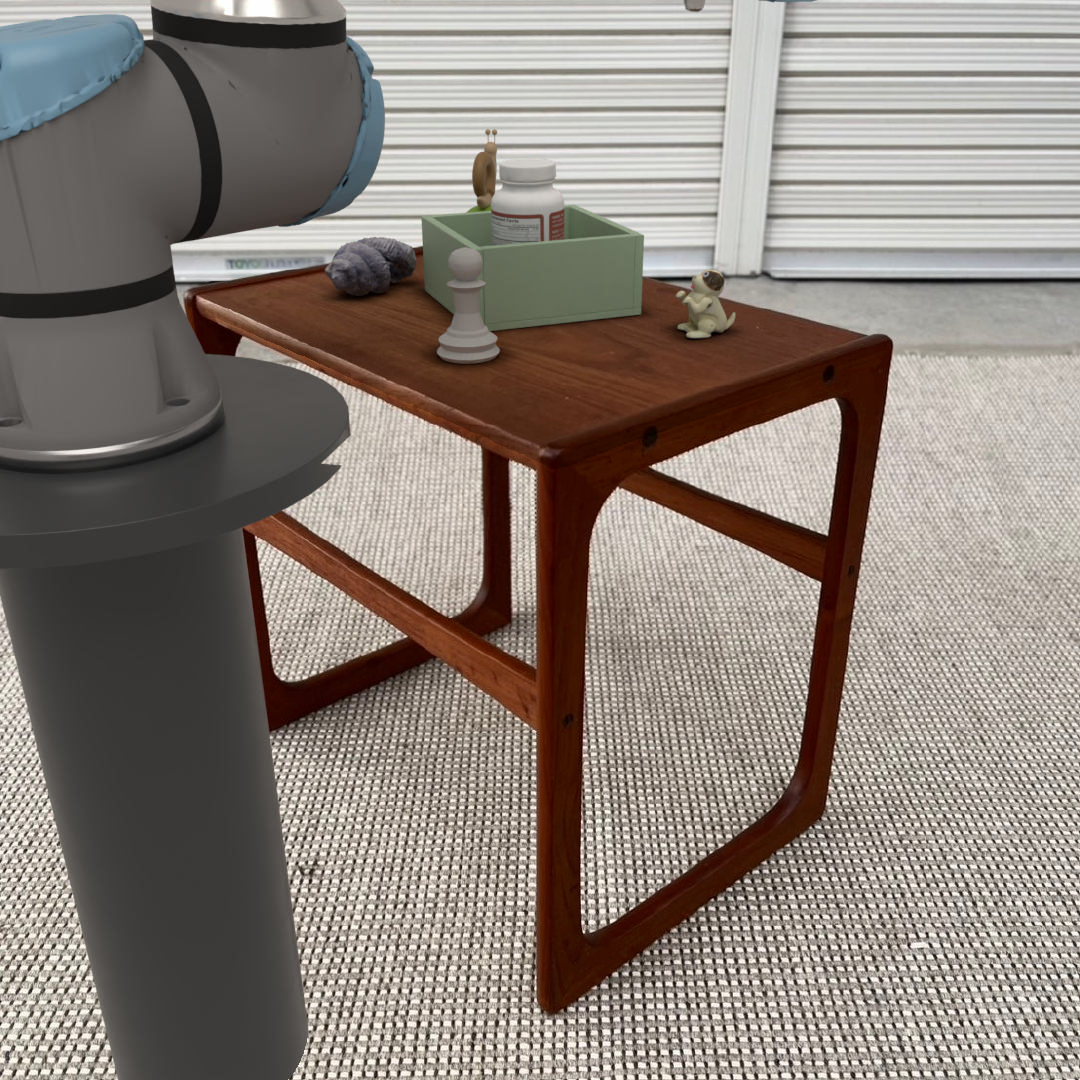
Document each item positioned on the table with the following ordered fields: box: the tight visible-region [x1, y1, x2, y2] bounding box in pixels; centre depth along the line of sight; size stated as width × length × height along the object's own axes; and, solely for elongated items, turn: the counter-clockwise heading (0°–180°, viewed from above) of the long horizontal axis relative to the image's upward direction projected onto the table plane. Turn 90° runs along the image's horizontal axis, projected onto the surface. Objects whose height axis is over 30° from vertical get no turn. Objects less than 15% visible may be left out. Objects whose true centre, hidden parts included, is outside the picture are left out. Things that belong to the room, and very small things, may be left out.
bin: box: [420, 204, 645, 332], centre depth 98 cm, size 15×15×7 cm
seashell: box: [324, 236, 418, 297], centre depth 102 cm, size 5×5×10 cm
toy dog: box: [675, 269, 736, 339], centre depth 90 cm, size 4×5×5 cm
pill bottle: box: [491, 157, 565, 246], centre depth 97 cm, size 6×6×11 cm
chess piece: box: [436, 247, 501, 365], centre depth 84 cm, size 5×5×8 cm
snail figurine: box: [465, 128, 498, 213], centre depth 112 cm, size 5×6×12 cm
